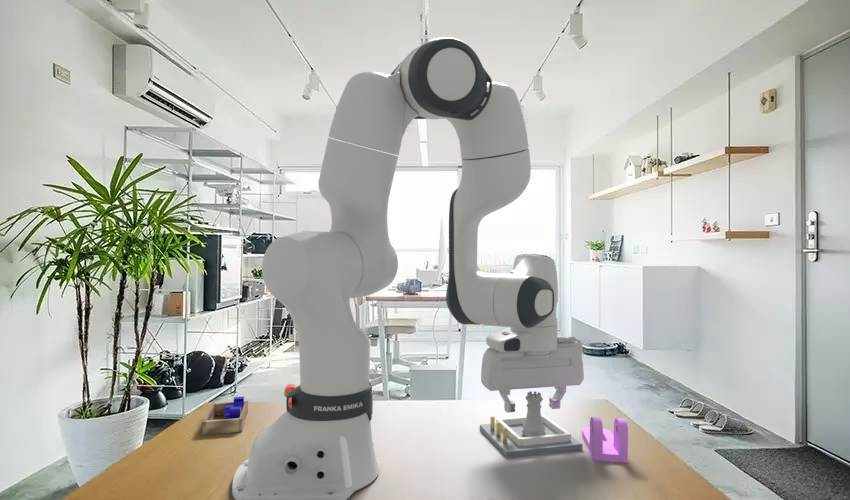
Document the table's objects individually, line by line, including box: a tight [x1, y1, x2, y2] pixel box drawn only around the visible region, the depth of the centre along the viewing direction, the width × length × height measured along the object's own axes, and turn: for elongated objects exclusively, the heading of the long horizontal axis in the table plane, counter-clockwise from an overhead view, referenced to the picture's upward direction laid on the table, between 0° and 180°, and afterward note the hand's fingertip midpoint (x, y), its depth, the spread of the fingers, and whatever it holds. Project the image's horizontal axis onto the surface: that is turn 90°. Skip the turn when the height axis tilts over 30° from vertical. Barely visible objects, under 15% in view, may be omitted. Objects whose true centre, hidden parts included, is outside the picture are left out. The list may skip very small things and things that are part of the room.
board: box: [479, 414, 583, 459], centre depth 93 cm, size 15×13×4 cm
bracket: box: [581, 416, 629, 464], centre depth 91 cm, size 13×6×7 cm, turn 173°
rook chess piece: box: [522, 391, 546, 437], centre depth 93 cm, size 4×4×8 cm
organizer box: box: [201, 400, 249, 436], centre depth 100 cm, size 7×11×2 cm, turn 14°
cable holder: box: [223, 395, 245, 419], centre depth 101 cm, size 8×4×4 cm, turn 15°
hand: (532, 409), depth 94 cm, fingers open, 8 cm apart
